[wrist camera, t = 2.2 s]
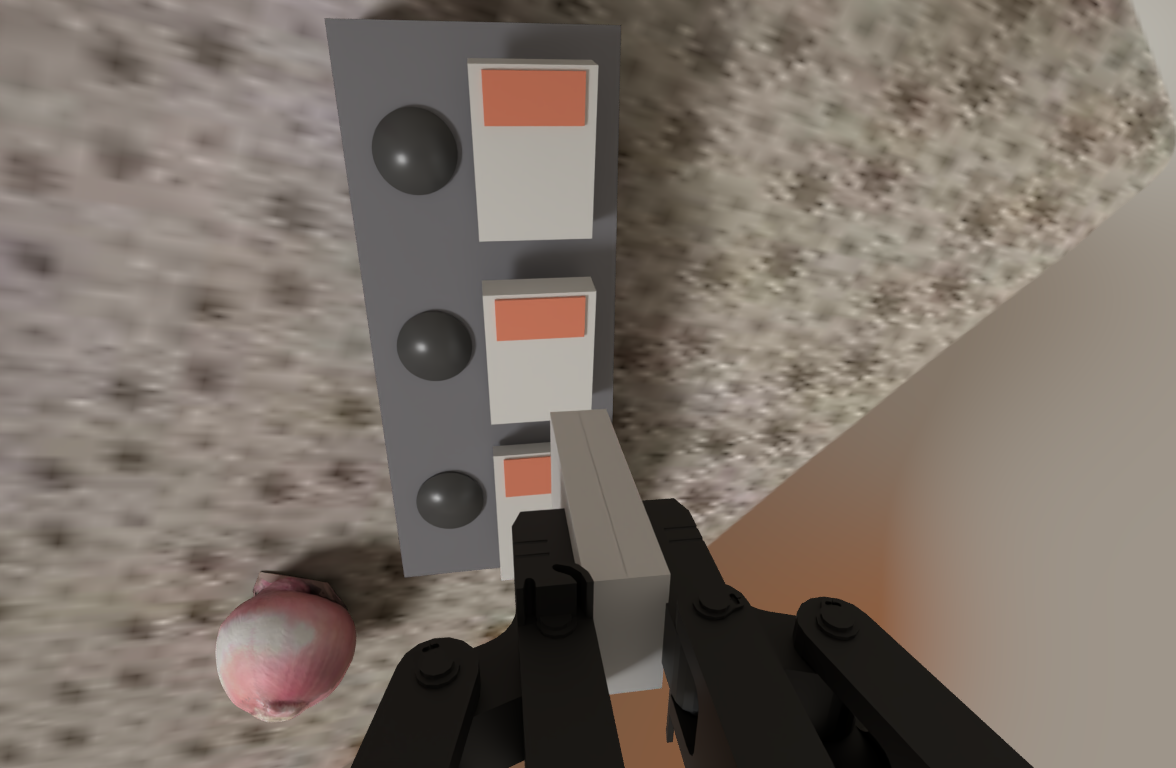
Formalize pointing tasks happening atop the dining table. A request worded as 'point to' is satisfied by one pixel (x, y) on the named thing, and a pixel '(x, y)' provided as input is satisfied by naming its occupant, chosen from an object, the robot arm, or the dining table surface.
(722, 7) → the dining table surface
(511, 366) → the rocker
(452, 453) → the switch panel
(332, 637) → the onion
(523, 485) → the rocker
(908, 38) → the dining table surface
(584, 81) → the rocker
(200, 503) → the dining table surface
